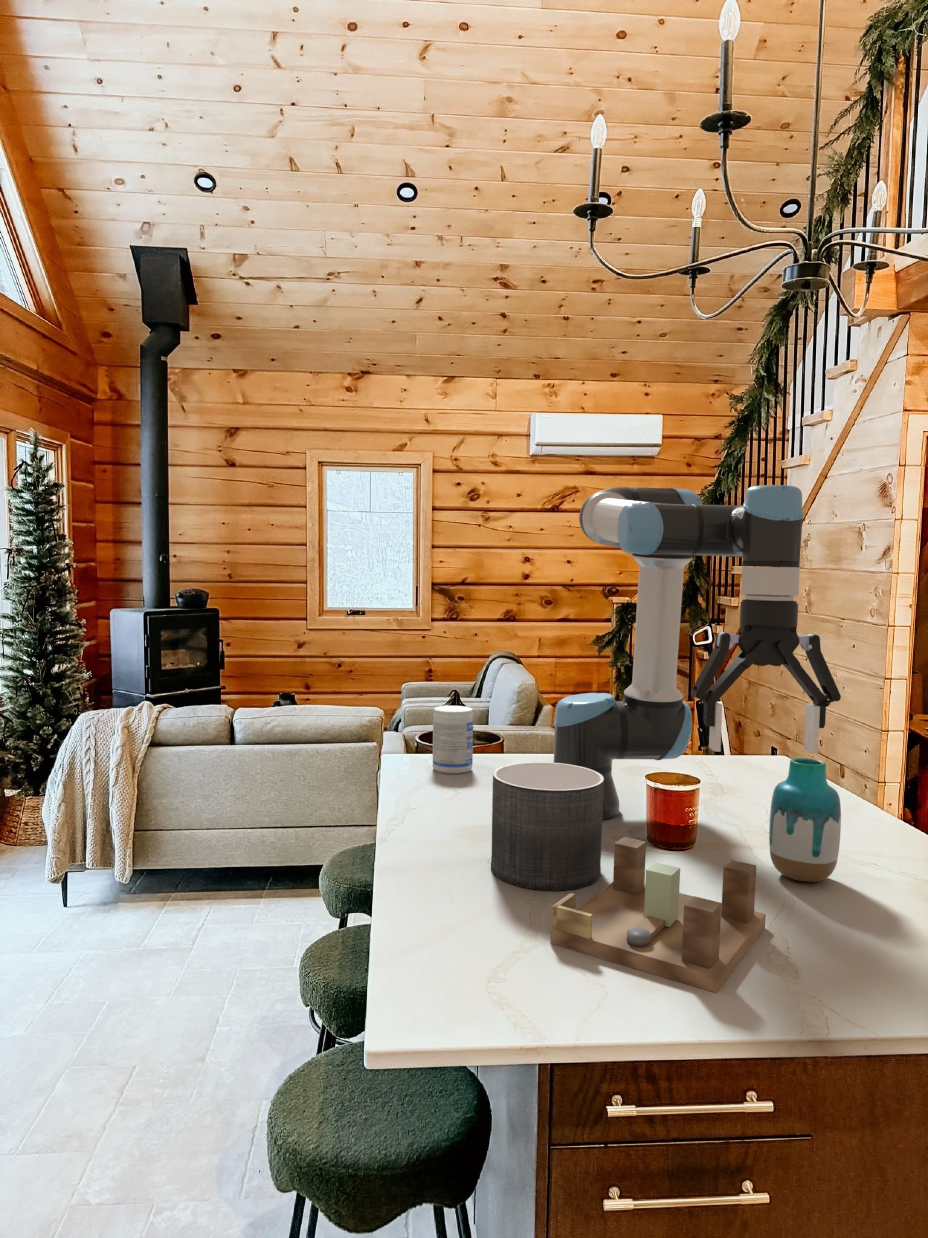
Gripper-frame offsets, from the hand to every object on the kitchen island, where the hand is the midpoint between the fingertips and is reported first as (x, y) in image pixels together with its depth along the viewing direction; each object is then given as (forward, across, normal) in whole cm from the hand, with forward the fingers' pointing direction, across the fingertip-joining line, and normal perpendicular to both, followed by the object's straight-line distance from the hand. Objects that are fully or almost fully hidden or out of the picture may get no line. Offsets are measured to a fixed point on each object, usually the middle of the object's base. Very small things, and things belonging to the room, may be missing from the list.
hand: (762, 750), depth 120 cm
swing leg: (+22, +17, +8) cm, 29 cm away
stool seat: (+24, +15, +5) cm, 29 cm away
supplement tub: (+24, +42, -84) cm, 97 cm away
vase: (+24, -14, -17) cm, 33 cm away
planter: (+24, +28, -19) cm, 41 cm away
